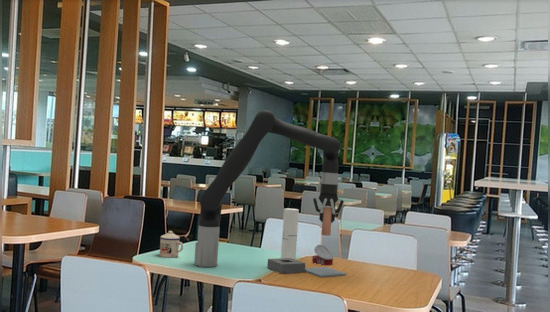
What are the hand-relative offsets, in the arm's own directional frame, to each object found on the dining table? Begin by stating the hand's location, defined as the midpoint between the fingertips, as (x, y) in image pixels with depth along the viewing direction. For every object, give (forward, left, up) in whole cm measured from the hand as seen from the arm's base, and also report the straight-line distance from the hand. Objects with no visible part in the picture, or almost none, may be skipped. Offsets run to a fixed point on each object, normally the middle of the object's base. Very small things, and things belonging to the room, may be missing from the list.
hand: (326, 221), depth 223 cm
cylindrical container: (-1, +27, -23) cm, 35 cm away
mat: (0, 0, -22) cm, 22 cm away
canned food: (+13, +18, -23) cm, 32 cm away
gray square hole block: (-14, +9, -22) cm, 28 cm away
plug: (0, 0, -6) cm, 6 cm away
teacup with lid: (-52, +49, -23) cm, 75 cm away
